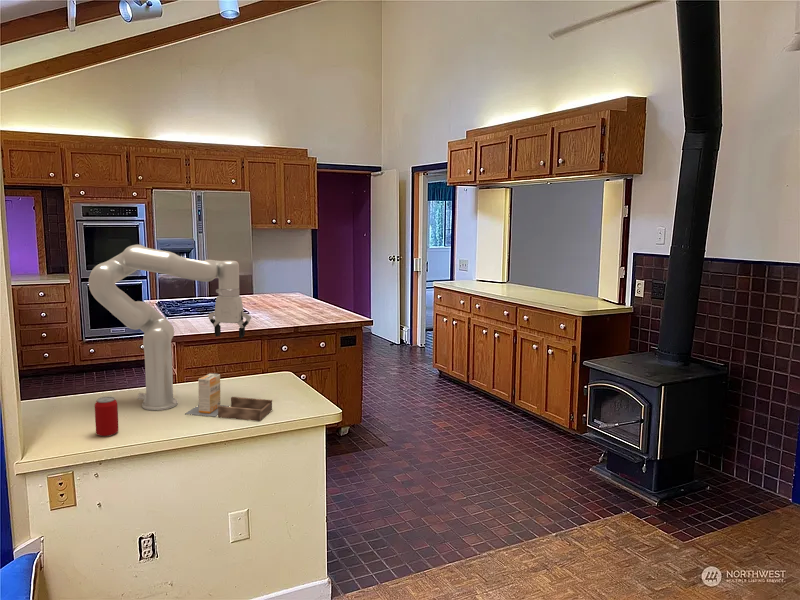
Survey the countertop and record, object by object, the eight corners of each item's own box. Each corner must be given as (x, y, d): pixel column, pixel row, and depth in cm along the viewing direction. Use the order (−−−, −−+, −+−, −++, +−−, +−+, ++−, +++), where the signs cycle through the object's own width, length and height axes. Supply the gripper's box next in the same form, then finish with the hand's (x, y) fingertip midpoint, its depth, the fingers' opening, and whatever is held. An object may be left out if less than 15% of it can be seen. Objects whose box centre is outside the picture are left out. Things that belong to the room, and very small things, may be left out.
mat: (184, 414, 215) (184, 413, 215) (200, 404, 227) (200, 403, 227) (215, 417, 213) (215, 416, 213) (229, 406, 225) (229, 405, 225)
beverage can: (122, 430, 198) (120, 396, 196) (113, 437, 192) (111, 402, 190) (101, 429, 198) (100, 395, 196) (92, 437, 191) (90, 402, 190)
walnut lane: (218, 417, 213) (217, 406, 213) (232, 406, 225) (232, 396, 224) (259, 420, 211) (259, 410, 210) (272, 410, 223) (272, 400, 222)
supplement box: (210, 414, 215) (209, 379, 214) (198, 412, 216) (197, 378, 214) (221, 406, 224) (220, 373, 222) (209, 405, 224) (209, 372, 222)
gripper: (203, 293, 221) (204, 337, 224) (246, 295, 219) (246, 340, 221) (212, 290, 229) (213, 333, 231) (254, 292, 226) (254, 336, 229)
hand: (229, 336), depth 226 cm, fingers open, 9 cm apart
